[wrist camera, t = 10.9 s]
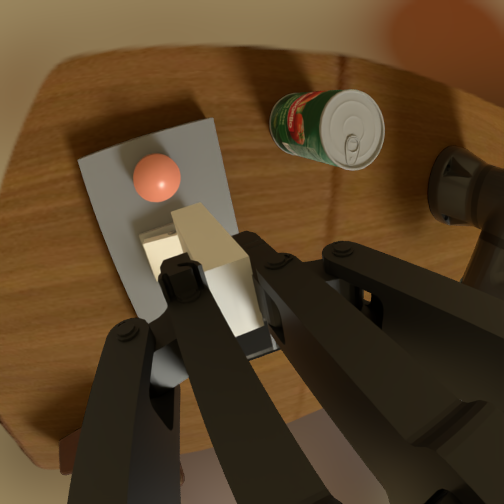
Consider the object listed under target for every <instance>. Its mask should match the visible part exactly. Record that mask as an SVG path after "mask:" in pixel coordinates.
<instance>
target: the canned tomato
mask: <svg viewBox="0 0 504 504" xmlns="http://www.w3.org/2000/svg"><path fill="white" fill-rule="evenodd" d="M269 126H270V132H271V136H272V138H273V140H274V142H275V143H276V144H277V146H278V147H279V148H281V149H282V150H283V151H285V152H286V153H289V154H292V155H297V156H301V157H305V158H308V159H312V160H316V161H320V162H323V163H326V164H330V165H334V166H337V167H341V168H343V169H346V170H360V169H362V168H365V167H366V166H368V165H370V164H371V163H372V162H373V161H374V160H375V158H376V157H377V156H378V154H379V152H380V150H381V148H382V145H383V141H384V134H385V126H384V120H383V116H382V113H381V111H380V109H379V107H378V105H377V104H376V102H375V101H374V100H373V99H372V98H371V97H370V96H369V95H368V94H366V93H364V92H362V91H359V90H355V89H348V90H332V91H331V90H329V91H316V92H302V93H292V94H288V95H286V96H284V97H282V98H281V99H280V100H279V101H278V102H277V103H276V104H275V106H274V107H273V109H272V112H271V115H270V121H269Z"/></svg>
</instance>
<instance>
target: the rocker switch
mask: <svg viewBox="0 0 504 504" xmlns="http://www.w3.org/2000/svg"><path fill="white" fill-rule="evenodd" d="M143 246H144V248H145V251H146V254H147V257H148V259H149V262H150V265H151V267H152V270H153V273H154V275H155V278H156V280H157V281H158V275H159V274H160V273H161V271H160V266H161V264H162V262H163V260H165V259H168V258H171V257H174V256H177V255H179V254H182V253H183V251H182V247H181V244H180V241H179V238H178V235H177V231H176V230H173V231H170V232H169V233H166V234H162V235H158V236H155V237H151V238H147V239H144V242H143Z"/></svg>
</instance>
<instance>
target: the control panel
mask: <svg viewBox="0 0 504 504" xmlns="http://www.w3.org/2000/svg"><path fill="white" fill-rule="evenodd" d="M152 153H160V154H164V155H166V156H168V157H169V158H171V159H172V160H173V161H174V162H175V163H176V164H177V166H178V168H179V170H180V175H181V180H180V185H179V187H178V189H177V191H176V192H175V194H174V195H173V196H172V197H170V198H169V199H167V200H165V201H161V202H150V201H147V200H145V199H143V198H142V197H141V196H140V195H139V194H138V193H137V191H136V189H135V187H134V182H133V173H134V169H135V166H136V165H137V163H138V162H139V161H140V160H141V159H142V158H143V157H144V156H146V155H149V154H152ZM78 163H79V166H80V170H81V173H82V176H83V179H84V182H85V185H86V189H87V192H88V195H89V197H90V200H91V203H92V206H93V209H94V212H95V215H96V217H97V220H98V223H99V226H100V228H101V231H102V234H103V236H104V239H105V241H106V244H107V246H108V249H109V251H110V254H111V256H112V259H113V261H114V264H115V266H116V268H117V271H118V273H119V275H120V278H121V280H122V282H123V285H124V287H125V289H126V291H127V294H128V296H129V298H130V300H131V302H132V305H133V307H134V309H135V311H136V313H137V315H138V317H139V318H141V319H145V320H146V321H147V322H148V324H149V323H150V322H152V321H154V320H155V319H157V318H158V317H160V316H161V315H162V314H163V313H164V312H165V310H166V309H167V302H166V300H165V298H164V295H163V293H162V290H161V287H160V285H159V282H158V281H157V280H156V278H155V275H154V273H153V270H152V267H151V265H150V262H149V259H148V257H147V254H146V251H145V248H144V246H143V242H144V239H147V238H151V237H155V236H158V235H162V234H166V233H169V232H170V231H173V230H176V228H175V225H174V221H173V218H172V215H171V212H172V211H175V210H178V209H181V208H184V207H187V206H190V205H193V204H196V203H200V202H201V203H202V204H203V206H204V207H205V208H206V209H207V210H208V211H209V212H210V213H211V214H212V216H213V217H214V218H215V219H216V220H217V221H218V222H219V223H220V224H221V226H222V227H223V228H224V229H225V230H226V231H227V232H228V233H229V234H230V236H232V235H235V234H238V233H239V232H238V228H237V223H236V219H235V214H234V210H233V206H232V201H231V197H230V192H229V188H228V183H227V179H226V174H225V170H224V165H223V161H222V156H221V152H220V147H219V143H218V138H217V134H216V129H215V125H214V120H213V118H204V119H200V120H196V121H192V122H188V123H185V124H181V125H177V126H174V127H170V128H166V129H163V130H160V131H156V132H153V133H150V134H146V135H143V136H140V137H137V138H134V139H131V140H128V141H125V142H122V143H119V144H116V145H113V146H110V147H107V148H104V149H102V150H99V151H96V152H94V153H91V154H88V155H86V156H83V157H81V158H80V159H78Z"/></svg>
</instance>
